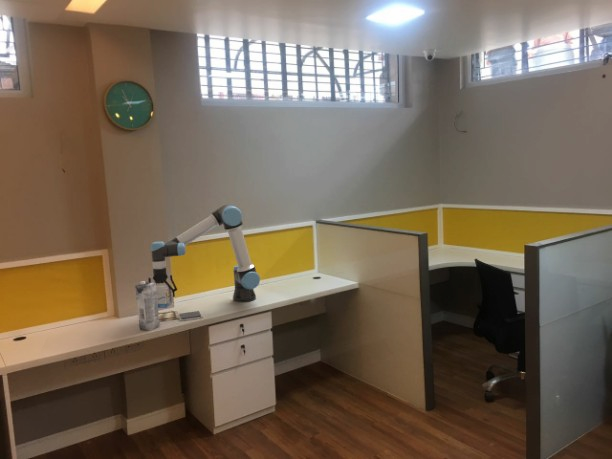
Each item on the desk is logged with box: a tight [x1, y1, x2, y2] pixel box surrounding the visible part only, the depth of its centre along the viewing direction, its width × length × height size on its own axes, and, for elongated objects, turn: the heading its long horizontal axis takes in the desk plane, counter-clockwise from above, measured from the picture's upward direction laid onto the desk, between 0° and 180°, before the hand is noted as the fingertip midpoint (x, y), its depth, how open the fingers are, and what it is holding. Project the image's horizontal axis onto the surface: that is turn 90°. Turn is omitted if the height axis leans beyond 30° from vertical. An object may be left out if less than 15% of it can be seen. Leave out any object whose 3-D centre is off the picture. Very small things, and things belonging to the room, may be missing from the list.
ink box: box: [156, 285, 173, 309], centre depth 319 cm, size 9×8×12 cm
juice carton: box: [134, 280, 160, 332], centre depth 300 cm, size 9×10×27 cm
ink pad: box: [177, 310, 203, 322], centre depth 320 cm, size 13×12×1 cm
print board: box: [158, 310, 180, 323], centre depth 321 cm, size 16×15×1 cm
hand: (162, 303), depth 320 cm, fingers closed on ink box, 11 cm apart
